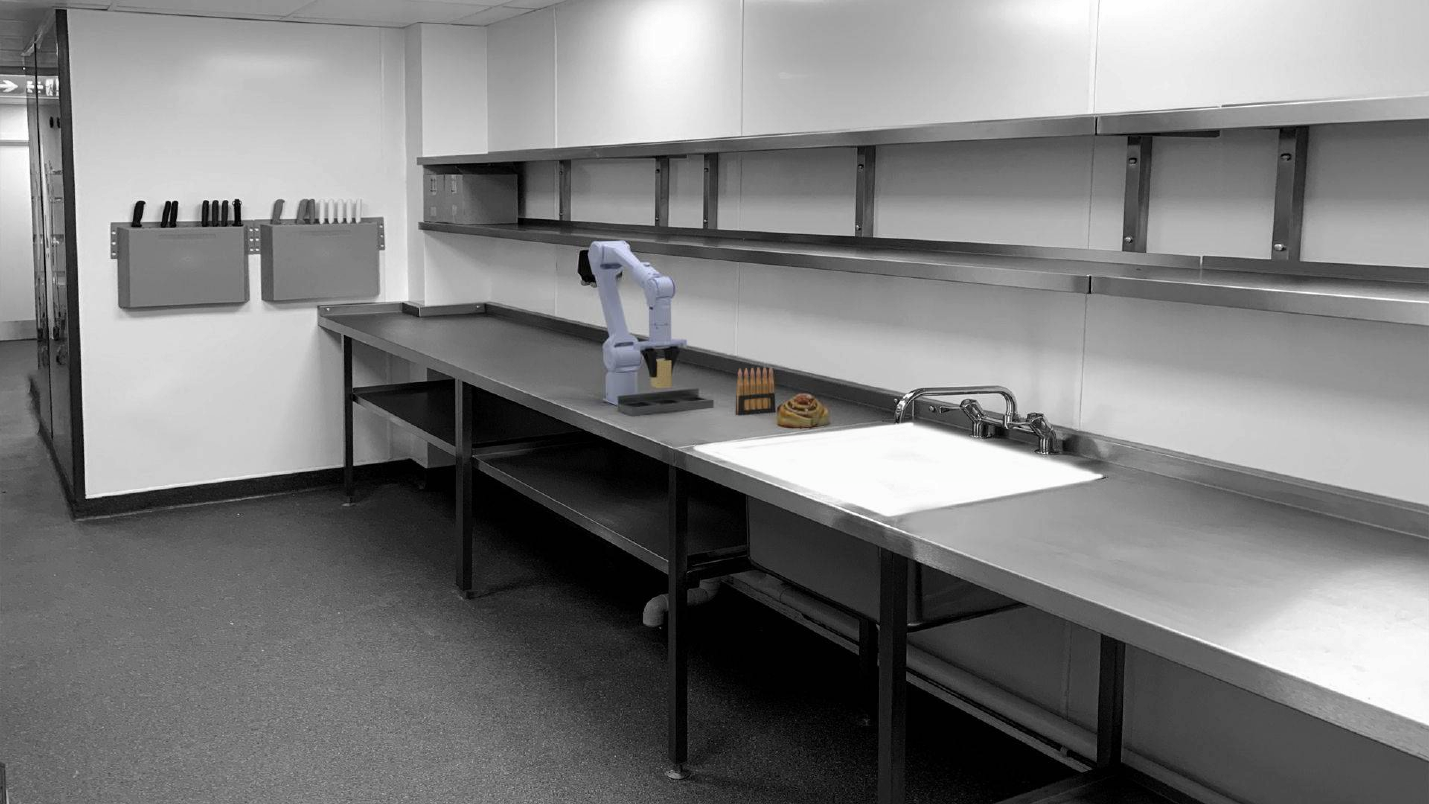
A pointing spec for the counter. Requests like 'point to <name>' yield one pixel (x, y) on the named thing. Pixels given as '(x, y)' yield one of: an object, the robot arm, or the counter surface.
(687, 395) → the charcoal rail
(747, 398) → the ammunition clip
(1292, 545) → the counter surface
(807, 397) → the pastry
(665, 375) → the brass peg
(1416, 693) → the counter surface
